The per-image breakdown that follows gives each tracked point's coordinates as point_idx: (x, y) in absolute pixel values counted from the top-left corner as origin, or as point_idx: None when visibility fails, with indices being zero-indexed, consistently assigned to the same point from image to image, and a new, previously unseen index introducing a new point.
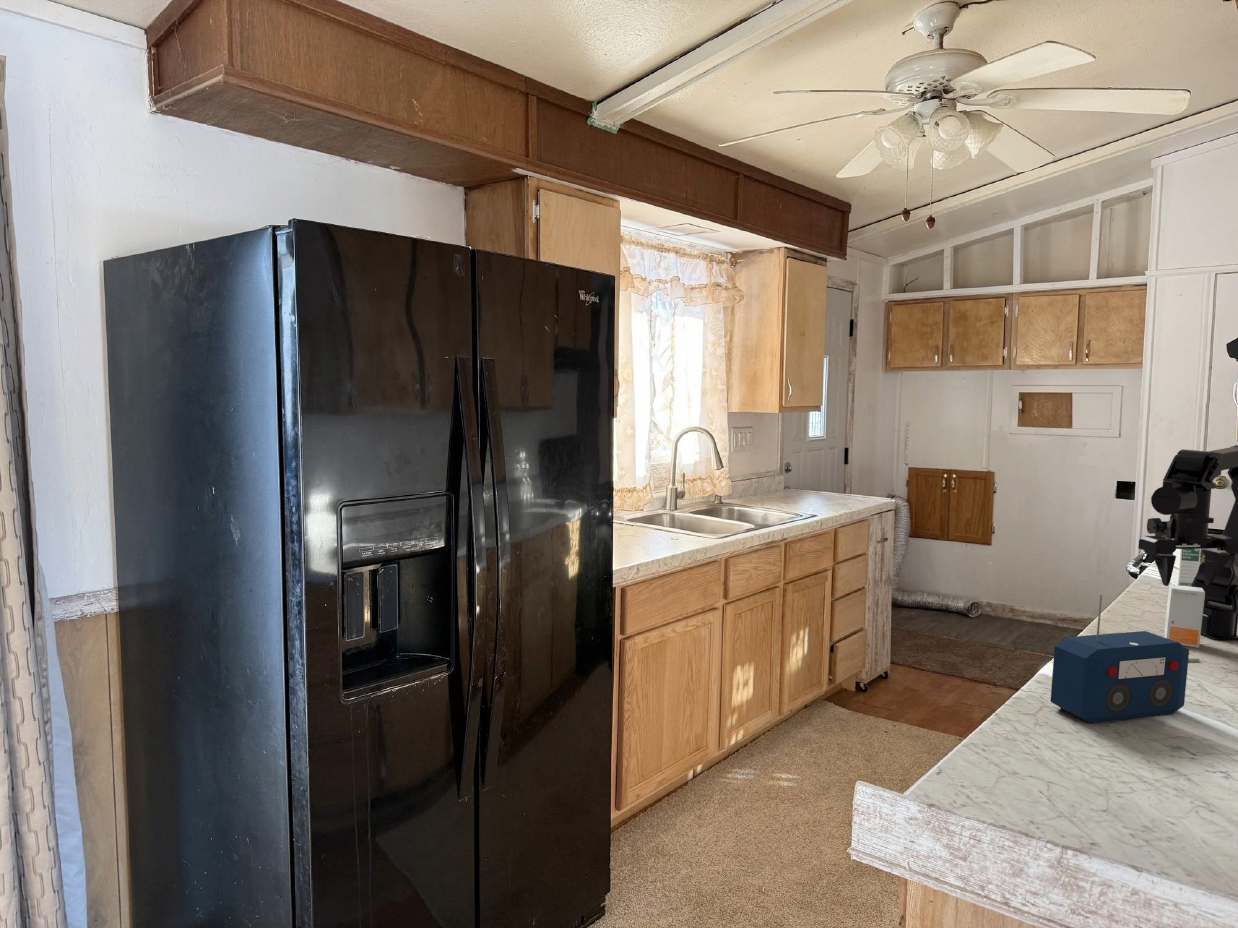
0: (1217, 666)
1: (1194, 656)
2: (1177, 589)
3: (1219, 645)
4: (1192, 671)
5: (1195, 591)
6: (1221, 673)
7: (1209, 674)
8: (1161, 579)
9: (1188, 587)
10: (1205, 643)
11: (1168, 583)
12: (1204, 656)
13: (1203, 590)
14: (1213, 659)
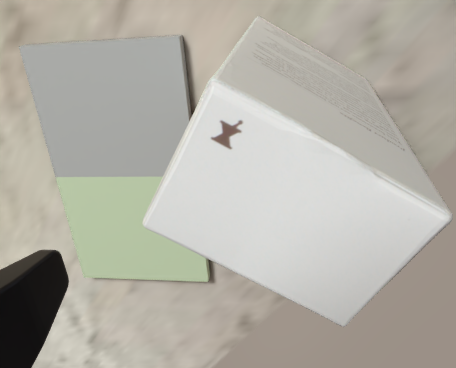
0: (237, 311)
1: (204, 264)
2: (178, 242)
3: (449, 113)
4: (136, 335)
5: (290, 297)
6: (207, 352)
7: (168, 354)
8: (1, 270)
9: (314, 207)
10: (406, 86)
11: (54, 305)
12: None
13: (379, 288)
14: None
